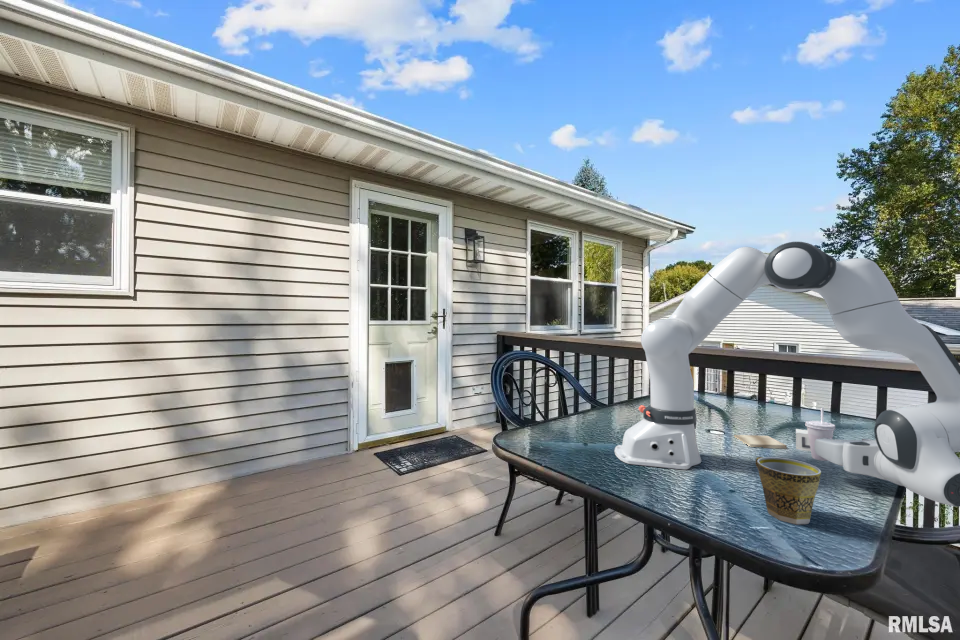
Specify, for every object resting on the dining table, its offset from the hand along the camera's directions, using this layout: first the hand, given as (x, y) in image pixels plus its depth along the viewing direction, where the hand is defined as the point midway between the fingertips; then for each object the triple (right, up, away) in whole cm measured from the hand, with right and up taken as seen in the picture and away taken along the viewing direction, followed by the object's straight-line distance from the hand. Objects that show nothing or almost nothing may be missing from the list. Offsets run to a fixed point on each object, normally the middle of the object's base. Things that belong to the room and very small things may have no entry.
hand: (843, 441), depth 102 cm
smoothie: (+1, -8, +9) cm, 12 cm away
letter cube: (+5, -8, +17) cm, 19 cm away
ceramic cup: (-32, -8, -22) cm, 40 cm away
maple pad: (-6, -8, +23) cm, 25 cm away
